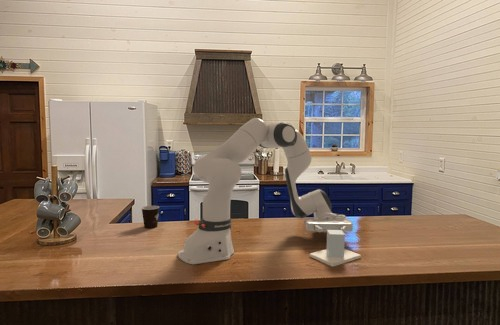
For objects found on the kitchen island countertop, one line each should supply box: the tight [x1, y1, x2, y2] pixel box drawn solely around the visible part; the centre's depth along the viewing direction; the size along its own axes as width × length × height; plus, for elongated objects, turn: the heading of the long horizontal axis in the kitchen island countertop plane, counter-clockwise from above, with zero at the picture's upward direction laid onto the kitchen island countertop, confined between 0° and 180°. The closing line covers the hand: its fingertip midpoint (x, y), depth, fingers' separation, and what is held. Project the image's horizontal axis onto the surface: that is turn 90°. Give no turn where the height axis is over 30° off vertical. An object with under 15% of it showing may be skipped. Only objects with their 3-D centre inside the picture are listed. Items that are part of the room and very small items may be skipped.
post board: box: [309, 248, 362, 267], centre depth 134 cm, size 16×12×8 cm
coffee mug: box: [141, 205, 160, 230], centre depth 175 cm, size 12×9×10 cm
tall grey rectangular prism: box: [326, 230, 346, 257], centre depth 134 cm, size 6×6×9 cm
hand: (331, 230), depth 143 cm, fingers open, 8 cm apart
